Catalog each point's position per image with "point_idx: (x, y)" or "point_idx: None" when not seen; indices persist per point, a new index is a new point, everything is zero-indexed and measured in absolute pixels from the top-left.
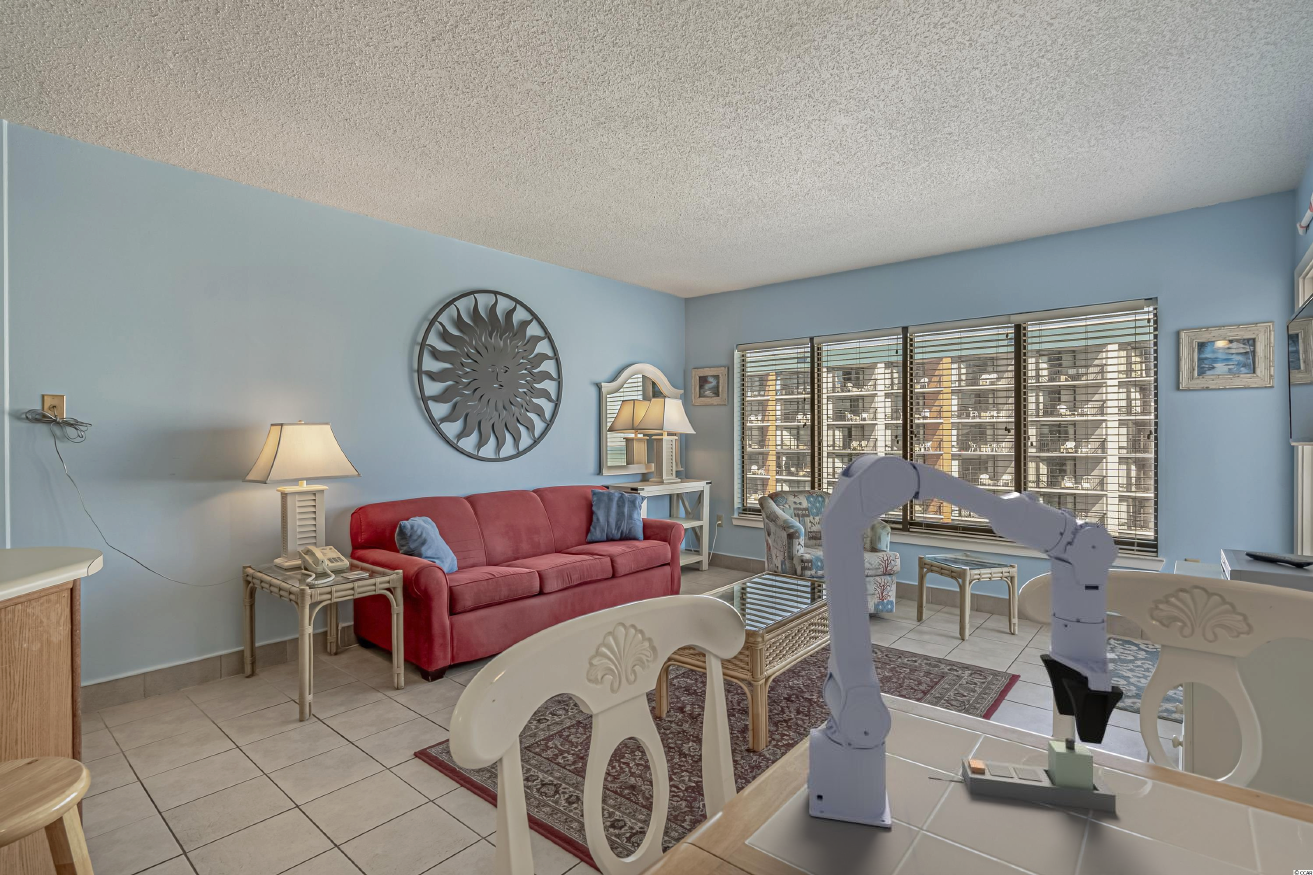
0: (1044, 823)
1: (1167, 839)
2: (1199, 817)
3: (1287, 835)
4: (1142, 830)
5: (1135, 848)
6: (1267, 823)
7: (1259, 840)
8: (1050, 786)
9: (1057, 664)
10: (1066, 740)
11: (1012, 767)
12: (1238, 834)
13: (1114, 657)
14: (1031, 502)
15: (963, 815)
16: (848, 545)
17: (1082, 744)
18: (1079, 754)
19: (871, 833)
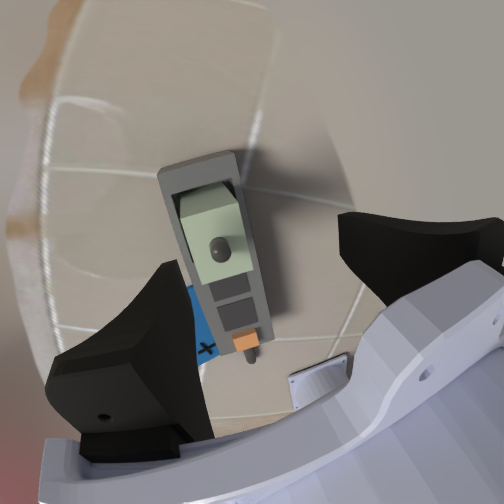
0: (282, 241)
1: (250, 90)
2: (154, 39)
3: None
4: (240, 117)
5: (296, 137)
6: None
7: None
8: (253, 249)
9: (204, 435)
10: (227, 260)
11: (214, 302)
12: (186, 5)
13: (500, 311)
14: None
15: (301, 317)
16: None
17: (181, 221)
18: (243, 228)
19: (353, 358)
